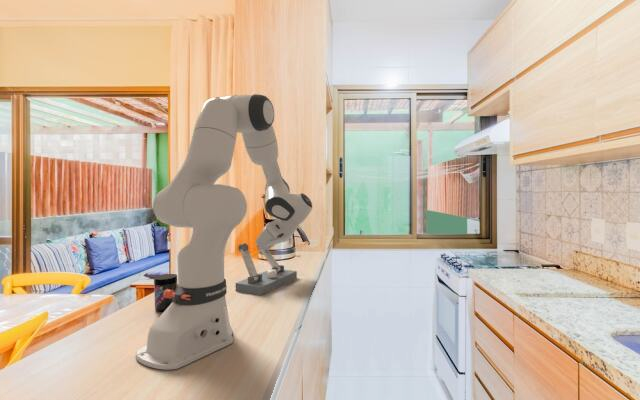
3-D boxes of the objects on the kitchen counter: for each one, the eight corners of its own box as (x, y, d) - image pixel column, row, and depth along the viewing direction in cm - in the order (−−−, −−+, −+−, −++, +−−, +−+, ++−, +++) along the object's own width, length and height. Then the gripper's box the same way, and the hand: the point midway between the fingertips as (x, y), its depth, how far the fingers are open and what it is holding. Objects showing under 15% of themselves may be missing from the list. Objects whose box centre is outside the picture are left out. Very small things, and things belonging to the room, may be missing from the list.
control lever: (279, 270, 130) (259, 241, 134) (274, 274, 131) (254, 245, 136) (283, 268, 133) (263, 240, 137) (279, 272, 134) (259, 244, 138)
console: (261, 295, 113) (261, 280, 113) (235, 291, 118) (235, 276, 118) (296, 278, 134) (296, 265, 134) (273, 275, 140) (273, 262, 140)
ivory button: (273, 278, 122) (273, 272, 122) (265, 277, 124) (265, 271, 124) (278, 276, 125) (278, 270, 125) (271, 275, 127) (271, 269, 127)
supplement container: (158, 306, 104) (157, 274, 104) (180, 304, 106) (179, 273, 105) (151, 313, 98) (150, 280, 97) (175, 311, 99) (174, 278, 99)
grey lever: (256, 281, 117) (241, 243, 119) (250, 283, 118) (236, 246, 121) (261, 278, 120) (247, 241, 122) (255, 281, 121) (241, 244, 123)
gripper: (293, 219, 140) (275, 239, 145) (264, 224, 122) (245, 247, 127) (302, 229, 139) (283, 250, 143) (274, 236, 120) (254, 259, 125)
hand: (265, 249), depth 135 cm, fingers closed, pressing on control lever
